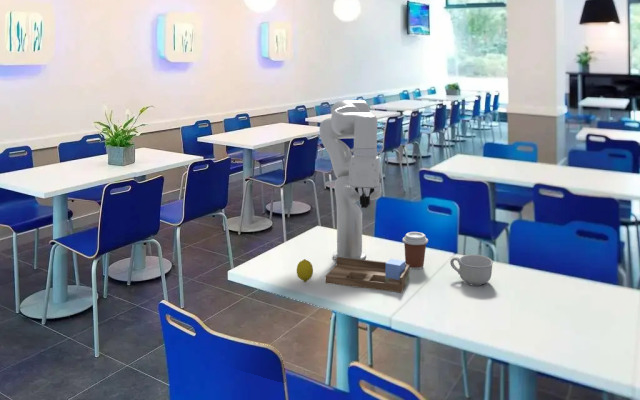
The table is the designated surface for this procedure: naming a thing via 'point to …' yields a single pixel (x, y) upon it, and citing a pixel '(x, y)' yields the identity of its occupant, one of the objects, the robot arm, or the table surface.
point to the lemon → (304, 270)
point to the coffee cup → (415, 249)
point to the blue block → (394, 268)
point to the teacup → (473, 268)
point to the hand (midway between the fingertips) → (364, 206)
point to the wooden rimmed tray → (365, 275)
